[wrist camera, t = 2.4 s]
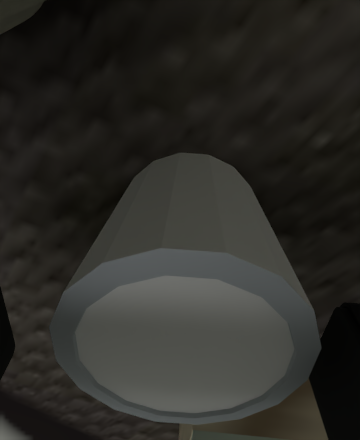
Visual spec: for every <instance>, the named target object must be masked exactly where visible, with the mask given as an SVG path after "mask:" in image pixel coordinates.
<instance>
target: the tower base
mask: <svg viewBox="0 0 360 440" xmlns="http://www.w3.org/2000/svg"><path fill="white" fill-rule="evenodd" d="M193 430H198V431H208V432H218V433H228V434H238V435H248V436H259V437H269V438H279V439H289V440H328V437H327V434H326V431H325V428H324V425H323V421H322V418H321V415H320V412H319V409H318V406H317V403H316V399H315V396H314V393H313V390H312V387H311V384H310V381H309V378H308V380H307V381H306V382H304V383H303V384H302V385H301V386H300V387H298V388H297V389H296V390H295V391H294V392H292V393H291V394H290V395H289V396H288V397H286V398H285V399H284V400H283V401H282V402H280V403H279V404H278V405H275V406H272V407H270V408H267V409H265V410H262V411H260V412H257V413H255V414H252V415H249V416H247V417H244V418H242V419H237V420H230V421H222V422H215V423H207V424H200V425H194V424H181V423H180V425H179V440H191V438H192V434H193Z"/></svg>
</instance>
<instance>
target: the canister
mask: <svg viewBox="0 0 360 440" xmlns="http://www.w3.org/2000/svg"><path fill="white" fill-rule="evenodd" d="M44 1H46V0H0V34H2V33H4V32H6V31H8V30H10V29H11V28H13V27H15V26H17V25H19V24H20V23H22V22H24V21H26V20H27V19H28V18H30V17H31V16H33V15H34V14H35V13H36V12H37V11H38V10H39V8H40V7H41V6H42V3H43V2H44Z"/></svg>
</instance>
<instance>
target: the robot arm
mask: <svg viewBox="0 0 360 440" xmlns="http://www.w3.org/2000/svg"><path fill="white" fill-rule="evenodd" d="M320 342H321V347H322V348H321V350H320V353H319V355H318V357H317V359H316V362H315V364H314V366H313V369H312V371H311V373H310V375H309V381H310V384H311V387H312V390H313V393H314V396H315V399H316V403H317V406H318V409H319V412H320V415H321V418H322V421H323V425H324V428H325V431H326V434H327V437H328V440H360V304H357V303H343V304H342V305H341V306H340V307H337V308H335V310H334V312H333V314H332V316H331V318H330V320H329V322H328V325H327V327H326V329H325V331H324V333H323V335H322V338H321V340H320ZM14 349H15V341H14V338H13V334H12V330H11V326H10V322H9V318H8V314H7V311H6V307H5V303H4V299H3V295H2V291H1V287H0V380H1V378H2V376H3V374H4V372H5V370H6V368H7V366H8V364H9V362H10V360H11V358H12V356H13V353H14Z"/></svg>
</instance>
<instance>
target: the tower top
mask: <svg viewBox="0 0 360 440" xmlns="http://www.w3.org/2000/svg"><path fill="white" fill-rule="evenodd" d="M191 440H289V439H279V438H269V437H259V436H248V435H238V434H228V433H218V432H208V431H198V430H193V434H192V438H191Z"/></svg>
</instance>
